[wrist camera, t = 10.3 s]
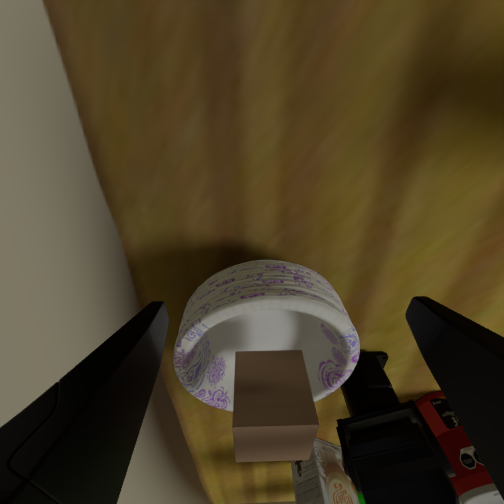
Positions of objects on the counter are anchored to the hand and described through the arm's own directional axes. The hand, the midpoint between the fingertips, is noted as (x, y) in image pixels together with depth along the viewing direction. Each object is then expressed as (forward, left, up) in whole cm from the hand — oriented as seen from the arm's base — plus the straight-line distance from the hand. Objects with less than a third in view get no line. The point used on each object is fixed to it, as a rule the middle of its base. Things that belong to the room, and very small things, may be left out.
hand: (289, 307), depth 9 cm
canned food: (-34, -28, -13) cm, 46 cm away
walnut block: (-12, 0, -5) cm, 13 cm away
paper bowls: (-12, 0, -13) cm, 18 cm away
